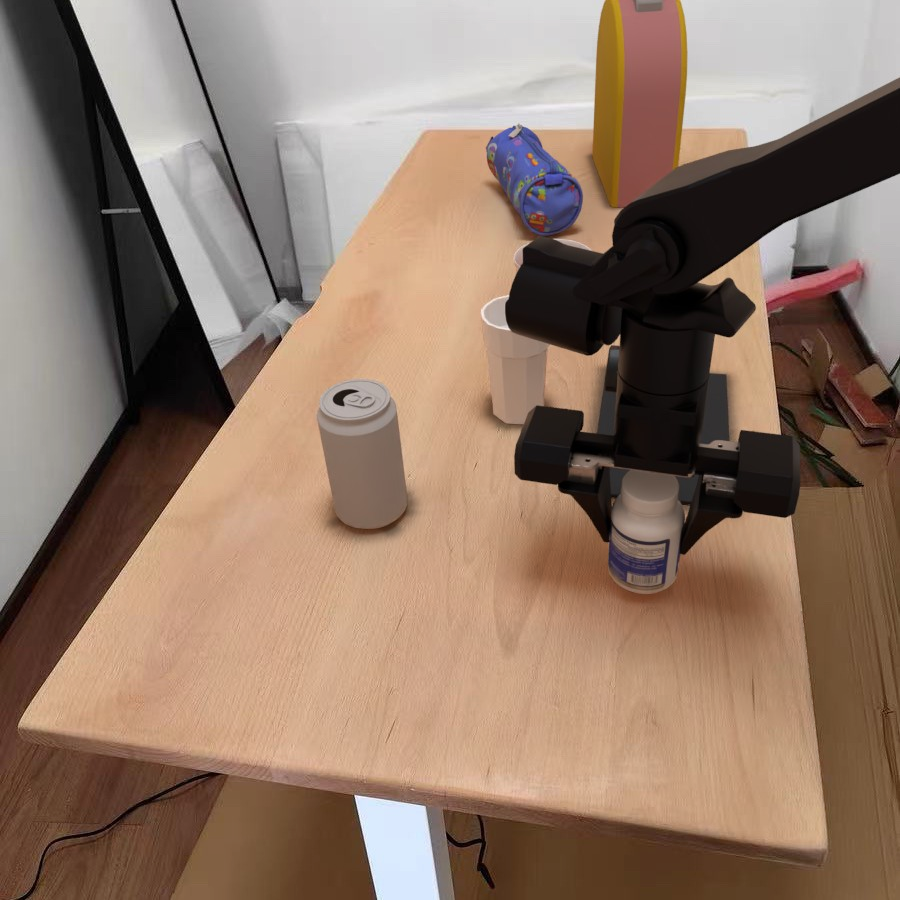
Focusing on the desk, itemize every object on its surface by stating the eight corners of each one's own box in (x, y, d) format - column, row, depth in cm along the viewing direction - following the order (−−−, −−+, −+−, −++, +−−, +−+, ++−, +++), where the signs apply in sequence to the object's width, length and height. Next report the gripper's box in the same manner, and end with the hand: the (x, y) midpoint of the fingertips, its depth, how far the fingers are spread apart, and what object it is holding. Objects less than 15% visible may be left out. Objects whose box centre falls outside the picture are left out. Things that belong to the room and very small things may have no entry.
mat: (606, 369, 90) (606, 366, 90) (725, 377, 88) (726, 374, 88) (588, 495, 75) (588, 491, 75) (732, 509, 73) (732, 505, 72)
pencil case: (485, 184, 132) (482, 120, 126) (539, 177, 133) (540, 113, 127) (522, 244, 115) (521, 174, 109) (585, 235, 116) (587, 165, 110)
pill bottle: (634, 536, 69) (642, 450, 64) (690, 568, 66) (704, 480, 61) (592, 572, 67) (597, 485, 61) (649, 607, 63) (660, 519, 58)
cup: (478, 396, 88) (473, 300, 81) (541, 385, 89) (541, 289, 82) (495, 434, 83) (490, 335, 76) (561, 422, 84) (563, 323, 77)
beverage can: (360, 478, 79) (341, 368, 71) (421, 496, 76) (409, 384, 69) (321, 523, 75) (297, 410, 67) (385, 543, 72) (368, 429, 65)
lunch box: (675, 203, 122) (697, -3, 105) (610, 207, 122) (622, 2, 106) (648, 151, 138) (663, -35, 122) (591, 155, 139) (599, -30, 122)
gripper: (815, 321, 59) (777, 493, 68) (546, 298, 64) (545, 461, 73) (820, 416, 51) (775, 596, 60) (510, 381, 56) (514, 552, 65)
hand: (645, 544), depth 65 cm, fingers closed on pill bottle, 5 cm apart
